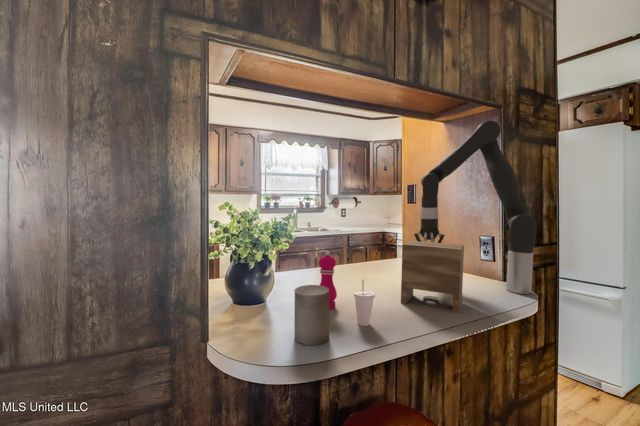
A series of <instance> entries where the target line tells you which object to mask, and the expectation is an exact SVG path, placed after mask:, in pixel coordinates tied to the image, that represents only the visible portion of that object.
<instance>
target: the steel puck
mask: <svg viewBox="0 0 640 426" xmlns="http://www.w3.org/2000/svg"><path fill="white" fill-rule="evenodd" d="M422 303H423V304H424V305H426V304H427V305H426V306H432V307H436V306H437V307H439V306H440V305H441V298H439V297H438V296H432V295H425V296H423V297H422Z"/></svg>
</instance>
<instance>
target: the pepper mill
mask: <svg viewBox="0 0 640 426" xmlns="http://www.w3.org/2000/svg"><path fill="white" fill-rule="evenodd" d="M336 262H337V261H336V259H335V257H333V256H332V255H331V253H330V251H328V250H327V251H325V252H324V255H322V256H320V258H319V260H318V266H319V267H320V269H319V270H320V271H319V273H320V275H321V280H320V283H319V285H320V286H324V287H327V288H328V289H329V310H334V309H335V308H336V301H335V300H336V299H337V296H338V293H337V289H336V287H335V284H334V281H333V276H334V274H335V269H334V268H335V267H336V265H337V264H336Z"/></svg>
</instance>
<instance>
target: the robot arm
mask: <svg viewBox="0 0 640 426" xmlns="http://www.w3.org/2000/svg"><path fill="white" fill-rule="evenodd" d="M501 131H502V130H501V125H500V124H499V123H498V122H497V121H495V120H486V121H483V122H482V123H480V124H479V125H478V126H477V128H475V131H474V132H473V133H472V135H471V136H469V137H468V139H466V140H465V141H464V142H463V143H462V144H460V146H458V147H457V148H456V149H454V150H453V151H451V153H449V155H447V156H446V157H445V158H443V159H442V160H441V161H440V162H439V163H438V164H437V165H436V166H435V167H434V168H432V169H431V170H430V171H428V172H427V173H425V174H424V175H423V176H422V178H421V180H420V184H421V187H422V196H421V210H420V230H419V232H415V233H414V237H415V239H416V240H415V241H419V242H429V241H430V242H432V243H443V240H444V238H445V236H446V235H445V234H444V233H441V232H440V230H439V207H438V204H439V202H438V201H439V200H438V195H439V186H440V185H439V184H440V183H441V182H442V181H443V180H444V179H445V178H447V177H449V176H450V175H451V174H453V173H454V172H455V171H456V170H457V169H459V167H461V165H463V164H464V163H465V162H466V161H467V160H469V158H470V157H471V156H472V155H474V154H475V153H476V152H477V151H478V150H480V152H481V154H482V157H483V159H484V161H485V164H486V165H485V166H486V168H487V171H488V174H489V178H490V179H491V182H492V185H493V187H494V190H495V192H496V195H497V197H498V198H499V200H500V202H501V204H502V206H503V209H504V213H505V216H506V220H507V225H508V228H509V241H508V246H507V267H506V268H507V269H506V286H505V287H506V288H505V289H506V291H507V292H511V293H515V294H520V295H521V294H522V295H531V294H532V286H533V270H534V269H533V267H534V265H533V264H534V263H533V262H534V249H535V246H536V238H537V237H536V236H537V222H536V220H535V219H534V217H532V216H531V215H529V214H528V211H527V210H526V208H525V206H524V203H523V201H522V197H521V190H520V189H521V188H520V185H519V180H518V177H517V175H516V172H515V170H514V168H513V166H512V165H511V163H510V162H509V160H508V159H507V158H506V156H505V155H504V154H503V152H502V150H501V147H500V144H499V141H498V138H499V136H500V134H501ZM421 237H422V238H423V241H422V239H421ZM437 237H438V238H439V239H438V240H437V242H436V238H437ZM428 240H429V241H428Z"/></svg>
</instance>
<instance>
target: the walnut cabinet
mask: <svg viewBox="0 0 640 426" xmlns="http://www.w3.org/2000/svg"><path fill="white" fill-rule="evenodd" d="M401 251H402V253H401V255H402V256H401V282H400V283H401V284H400V303H401V304H404V305H407V304H408V302H409V301H410V300H411V299H412V298H413V296H414V290H419V291H423V292H425V291H426V292H432V293H439V294H445V295H452V313H460V309H461V308H462V307H461V306H462V304H463V285H464V284H463V283H464V282H463V281H464V280H463V277H464V260H465V259H464V258H465V257H464V256H465V255H464V254H465V245H464V244H455V243H443V242H441V243H437V242H435V243H432V242H431V241H430V242H429V241H427V242H423V241H422V242H419V241H417V240H409V241H407V242H404V243H403V244H402V250H401Z"/></svg>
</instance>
